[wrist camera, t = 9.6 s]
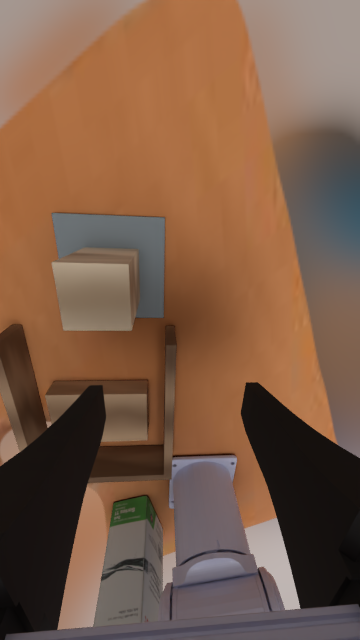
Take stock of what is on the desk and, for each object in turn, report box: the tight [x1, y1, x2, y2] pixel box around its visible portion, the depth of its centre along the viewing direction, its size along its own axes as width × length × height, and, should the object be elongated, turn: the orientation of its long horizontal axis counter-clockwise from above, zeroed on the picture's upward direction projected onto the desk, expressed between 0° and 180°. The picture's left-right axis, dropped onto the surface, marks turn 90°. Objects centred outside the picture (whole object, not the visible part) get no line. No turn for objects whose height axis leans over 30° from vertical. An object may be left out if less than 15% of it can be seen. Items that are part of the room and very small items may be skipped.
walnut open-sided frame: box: [0, 325, 177, 483], centre depth 23 cm, size 16×14×4 cm
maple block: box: [52, 247, 140, 331], centre depth 16 cm, size 4×4×6 cm
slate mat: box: [52, 213, 165, 318], centre depth 19 cm, size 8×8×1 cm
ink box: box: [93, 496, 163, 627], centre depth 28 cm, size 9×5×12 cm, turn 11°
